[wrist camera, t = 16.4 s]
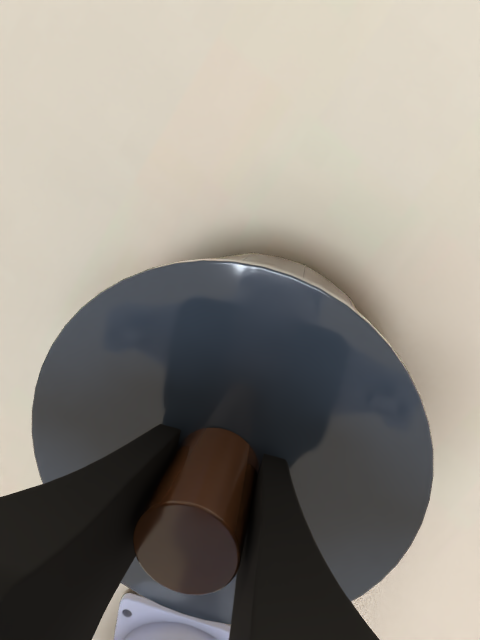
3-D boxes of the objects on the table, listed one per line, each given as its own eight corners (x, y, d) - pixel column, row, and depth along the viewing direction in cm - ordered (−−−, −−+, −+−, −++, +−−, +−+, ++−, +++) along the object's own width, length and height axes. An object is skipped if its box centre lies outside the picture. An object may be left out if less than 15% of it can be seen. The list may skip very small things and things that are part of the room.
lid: (357, 640, 14) (375, 814, 10) (39, 536, 15) (-60, 655, 11) (486, 313, 11) (589, 377, 7) (69, 214, 12) (-56, 217, 8)
